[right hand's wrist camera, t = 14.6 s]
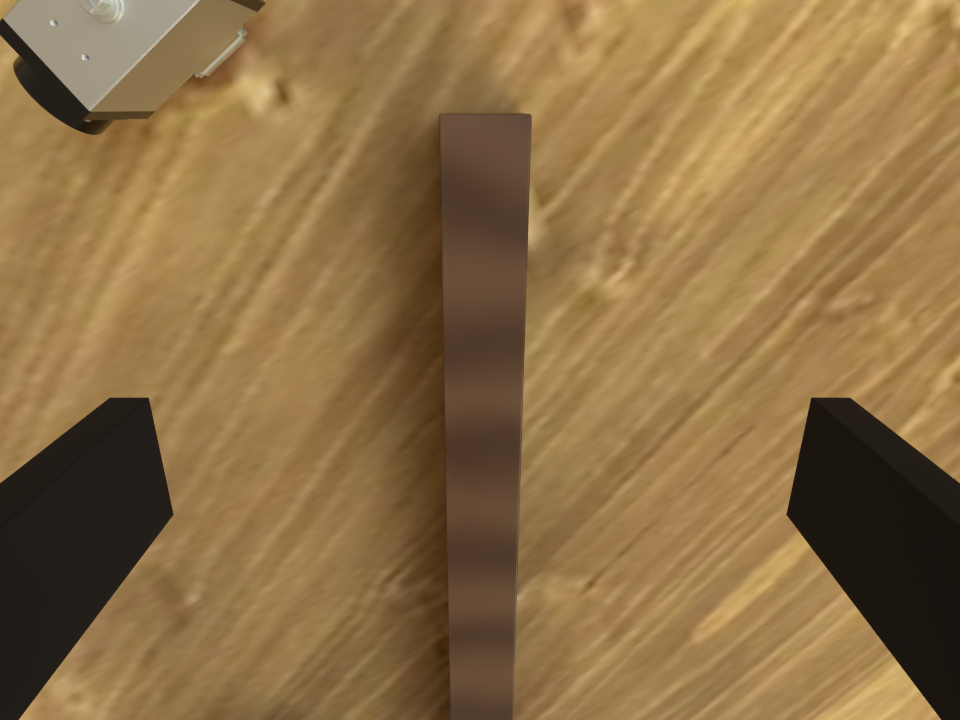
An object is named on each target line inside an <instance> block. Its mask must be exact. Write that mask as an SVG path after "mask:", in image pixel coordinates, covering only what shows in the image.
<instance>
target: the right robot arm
mask: <svg viewBox="0 0 960 720" xmlns="http://www.w3.org/2000/svg"><path fill="white" fill-rule="evenodd" d="M172 516H173V510H172V506H171V501H170V496H169V491H168V487H167V482H166V477H165V473H164V468H163V463H162V458H161V454H160V449H159V444H158V440H157V435H156V430H155V425H154V421H153V416H152V411H151V407H150V402H149V398H109V399H108V400H106V401H105V402H104V403H103V404H101V405H100V406H99V407H97V408H96V409H95V410H94V411H92V412H91V413H90V414H89V415H87V416H86V417H85V418H83V419H82V420H81V421H80V422H78V423H77V424H76V425H74V426H73V427H72V428H71V429H69V430H68V431H67V432H65V433H64V434H63V435H62V436H60V437H59V438H58V439H57V440H55V441H54V442H53V443H51V444H50V445H49V446H48V447H46V448H45V449H44V450H42V451H41V452H40V453H39V454H37V455H36V456H35V457H33V458H32V459H31V460H30V461H28V462H27V463H26V464H24V465H23V466H22V467H21V468H19V469H18V470H17V471H16V472H14V473H13V474H12V475H10V476H9V477H8V478H7V479H5V480H4V481H3V482H1V483H0V720H19V718H20V717H21V716H22V715H23V713H24V712H25V711H26V709H27V708H28V707H29V705H30V704H31V703H32V701H33V700H34V699H35V697H36V696H37V695H38V693H39V692H40V691H41V689H42V688H43V687H44V685H45V684H46V683H47V681H48V680H49V679H50V677H51V676H52V675H53V673H54V672H55V671H56V669H57V668H58V667H59V666H60V664H61V663H62V662H63V660H64V659H65V658H66V656H67V655H68V654H69V652H70V651H71V650H72V648H73V647H74V646H75V644H76V643H77V642H78V640H79V639H80V638H81V636H82V635H83V634H84V632H85V631H86V630H87V628H88V627H89V626H90V624H91V623H92V622H93V621H94V619H95V618H96V617H97V615H98V614H99V613H100V611H101V610H102V609H103V607H104V606H105V605H106V603H107V602H108V601H109V599H110V598H111V597H112V595H113V594H114V593H115V591H116V590H117V589H118V587H119V586H120V585H121V583H122V582H123V581H124V579H125V578H126V577H127V575H128V574H129V573H130V572H131V570H132V569H133V568H134V566H135V565H136V564H137V562H138V561H139V560H140V558H141V557H142V556H143V554H144V553H145V552H146V550H147V549H148V548H149V546H150V545H151V544H152V542H153V541H154V540H155V538H156V537H157V536H158V534H159V533H160V532H161V530H162V529H163V528H164V527H165V525H166V524H167V523H168V521H169V520H170V519H171V517H172ZM787 516H788V517H789V519H790V520H791V521H792V523H793V524H794V525H795V527H796V528H797V529H798V530H799V532H800V533H801V534H802V536H803V537H804V538H805V540H806V541H807V542H808V544H809V545H810V546H811V548H812V549H813V550H814V552H815V553H816V554H817V556H818V557H819V558H820V560H821V561H822V562H823V564H824V565H825V566H826V568H827V569H828V570H829V572H830V573H831V574H832V575H833V577H834V578H835V579H836V581H837V582H838V583H839V585H840V586H841V587H842V589H843V590H844V591H845V593H846V594H847V595H848V597H849V598H850V599H851V601H852V602H853V603H854V605H855V606H856V607H857V609H858V610H859V611H860V613H861V614H862V615H863V617H864V618H865V619H866V621H867V622H868V623H869V624H870V626H871V627H872V628H873V630H874V631H875V632H876V634H877V635H878V636H879V638H880V639H881V640H882V642H883V643H884V644H885V646H886V647H887V648H888V650H889V651H890V652H891V654H892V655H893V656H894V658H895V659H896V660H897V662H898V663H899V664H900V666H901V667H902V668H903V669H904V671H905V672H906V673H907V675H908V676H909V677H910V679H911V680H912V681H913V683H914V684H915V685H916V687H917V688H918V689H919V691H920V692H921V693H922V695H923V696H924V697H925V699H926V700H927V701H928V703H929V704H930V705H931V707H932V708H933V709H934V711H935V712H936V713H937V715H938V716H939V717H940V718H941V720H960V483H959V482H957V481H956V480H955V479H953V478H952V477H951V476H950V475H948V474H947V473H946V472H944V471H943V470H942V469H941V468H939V467H938V466H937V465H936V464H934V463H933V462H932V461H930V460H929V459H928V458H927V457H925V456H924V455H923V454H921V453H920V452H919V451H918V450H916V449H915V448H914V447H912V446H911V445H910V444H909V443H907V442H906V441H905V440H903V439H902V438H901V437H900V436H898V435H897V434H896V433H895V432H893V431H892V430H891V429H889V428H888V427H887V426H886V425H884V424H883V423H882V422H880V421H879V420H878V419H877V418H875V417H874V416H873V415H871V414H870V413H869V412H868V411H866V410H865V409H864V408H863V407H861V406H860V405H859V404H857V403H856V402H855V401H854V400H852V399H851V398H811V402H810V407H809V411H808V416H807V421H806V425H805V430H804V435H803V440H802V444H801V449H800V454H799V458H798V463H797V468H796V473H795V477H794V482H793V487H792V491H791V496H790V501H789V506H788V510H787Z"/></svg>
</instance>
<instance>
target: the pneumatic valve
mask: <svg viewBox="0 0 960 720" xmlns="http://www.w3.org/2000/svg"><path fill="white" fill-rule="evenodd" d="M264 5H265V2H264V1H263V0H18V1H17V3H16V4H15V5H14V6H13V7H12V8H11V9H10V10H9V11H8V13H7V14H6V15H5V16H4V17H3V18H2V19H1V20H0V35H1V36H2V37H3V38H4V39H5V40H6V42H7V43H8V44H9V45H10V46H11V47H12V48H13V49H14V50H15V51H16V52H17V53H18V54H19V56H18V58H17V59H16V60H15V61H14V64H13V68H14V72H15V74H16V77H17V78H18V80H19V82H20V83H21V85H22V86H23V87H24V89H25V90H26V91H27V92H28V94H29V95H30V96H31V97H32V98H33V99H34V100H35V101H36V102H37V103H38V104H39V105H40V106H42V107H43V108H44V109H45V110H46V111H48V112H49V113H50V114H51V115H53V116H54V117H55V118H57V119H58V120H60V121H61V122H63V123H65V124H66V125H68V126H70V127H72V128H74V129H76V130H78V131H80V132H83V133H86V134H91V135H98V134H101V133H103V132H104V131H105V130H106V129H107V128H108V127H109V126H110V125H111V124H112V123H113V122H114V121H115V120H117V119H128V120H133V119H148V118H149V117H150V116H151V115H152V114H153V113H154V112H155V111H156V110H157V109H158V108H159V107H160V106H161V105H162V104H163V103H164V102H165V101H166V100H167V99H168V98H169V97H170V96H171V95H172V94H173V93H174V92H175V91H176V90H178V89H179V88H180V87H181V86H182V85H183V84H184V83H185V82H186V81H187V80H188V79H189V78H190V77H191V76H192V75H193V74H194V75H195V76H196V77H200V78H202V77H203V76H204V75H205V76H207V77H209V76H210V75H211V74H212V73H213V72H214V71H215V70H216V69H217V68H218V67H219V66H220V65H221V64H222V63H223V62H224V61H225V60H227V59H228V58H229V57H230V56H231V55H232V54H233V53H234V52H235V51H236V50H237V49H238V48H239V47H240V46H241V45H242V44H243V43H244V42H245V41H246V40H247V39H246V35H247V33H248V32H247V31H246V29H245V28H244V27H243V25H244V24H245V23H246V22H247V21H248V20H249V19H250V18H251V17H252V16H253V15H254V14H255V13H256V12H257V11H258V10H260V9H261V8H262V7H263V6H264Z"/></svg>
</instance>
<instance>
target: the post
mask: <svg viewBox="0 0 960 720" xmlns="http://www.w3.org/2000/svg"><path fill="white" fill-rule="evenodd" d="M531 121H532V116H531V114H523V113H444V114H440V115H439V138H440V191H441V244H442V298H443V351H444V405H445V458H446V511H447V565H448V618H449V672H450V720H513V695H514V664H515V632H516V600H517V568H518V536H519V504H520V472H521V440H522V408H523V376H524V344H525V313H526V281H527V249H528V217H529V185H530V153H531Z"/></svg>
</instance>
